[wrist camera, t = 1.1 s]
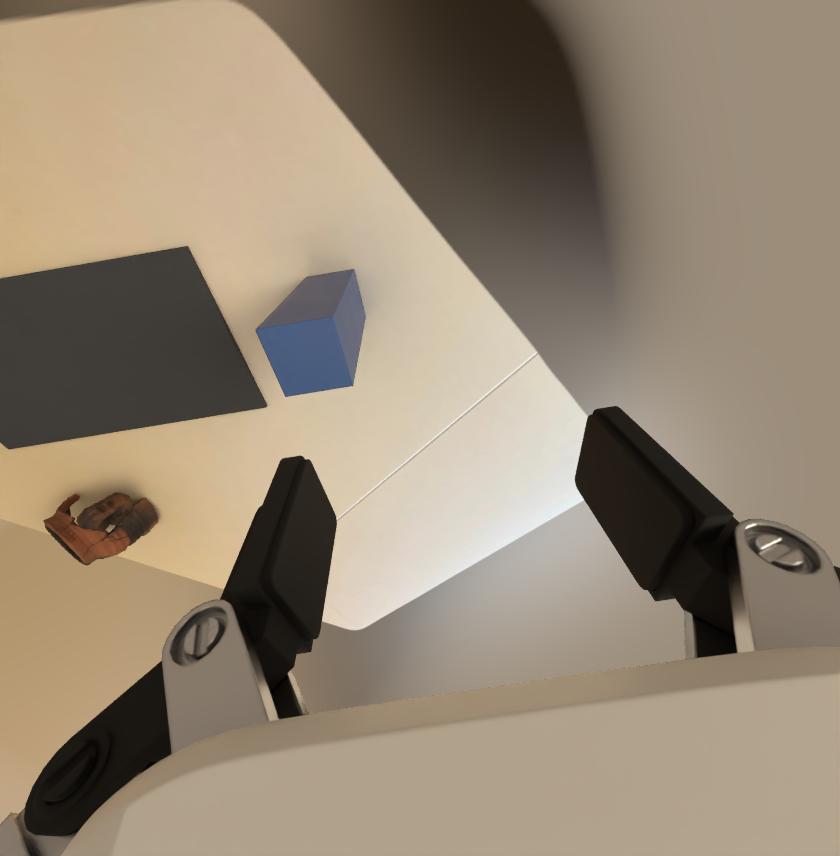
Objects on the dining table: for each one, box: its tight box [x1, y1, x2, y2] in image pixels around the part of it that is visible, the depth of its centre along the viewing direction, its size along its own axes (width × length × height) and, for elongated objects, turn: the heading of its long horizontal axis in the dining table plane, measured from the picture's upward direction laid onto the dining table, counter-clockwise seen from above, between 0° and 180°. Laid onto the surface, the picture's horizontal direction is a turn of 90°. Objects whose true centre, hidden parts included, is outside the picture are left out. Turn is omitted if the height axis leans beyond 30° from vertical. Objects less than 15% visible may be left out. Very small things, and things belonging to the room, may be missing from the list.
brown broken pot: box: [43, 493, 158, 565], centre depth 41 cm, size 12×10×8 cm
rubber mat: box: [0, 246, 267, 449], centre depth 32 cm, size 16×30×1 cm, turn 98°
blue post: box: [256, 269, 366, 397], centre depth 25 cm, size 4×4×14 cm
